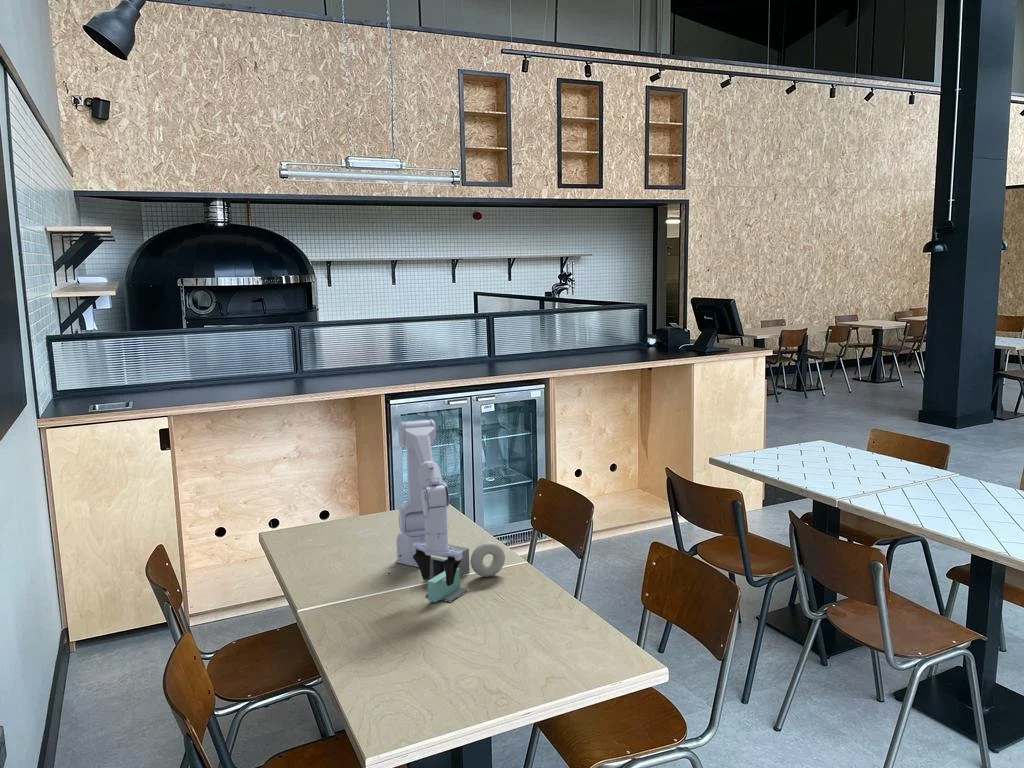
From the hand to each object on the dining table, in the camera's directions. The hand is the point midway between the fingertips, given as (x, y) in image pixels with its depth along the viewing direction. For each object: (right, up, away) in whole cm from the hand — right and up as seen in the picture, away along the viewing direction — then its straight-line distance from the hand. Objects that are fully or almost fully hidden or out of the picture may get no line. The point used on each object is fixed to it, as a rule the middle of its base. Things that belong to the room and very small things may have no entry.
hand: (438, 581), depth 198 cm
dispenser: (+1, -3, +16) cm, 16 cm away
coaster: (+2, -4, +4) cm, 6 cm away
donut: (+13, -3, +15) cm, 20 cm away
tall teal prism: (+1, -4, +3) cm, 5 cm away
